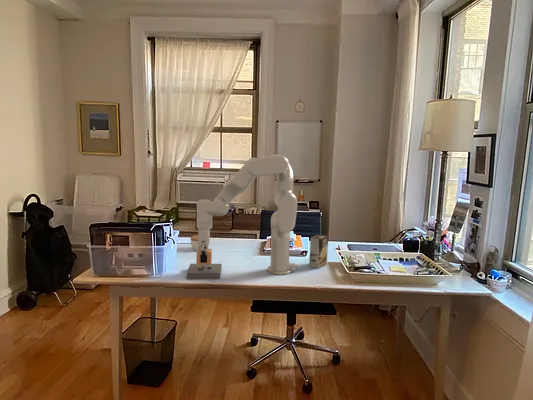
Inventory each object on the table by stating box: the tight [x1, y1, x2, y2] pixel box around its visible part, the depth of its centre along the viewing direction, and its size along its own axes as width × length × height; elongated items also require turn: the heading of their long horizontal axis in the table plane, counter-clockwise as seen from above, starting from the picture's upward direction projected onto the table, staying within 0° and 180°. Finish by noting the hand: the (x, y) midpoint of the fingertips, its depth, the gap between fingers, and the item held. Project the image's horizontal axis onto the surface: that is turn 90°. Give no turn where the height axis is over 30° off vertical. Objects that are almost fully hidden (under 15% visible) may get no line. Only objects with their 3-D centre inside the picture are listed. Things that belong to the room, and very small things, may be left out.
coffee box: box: [309, 234, 329, 269], centre depth 213 cm, size 9×6×16 cm
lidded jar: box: [190, 234, 201, 252], centre depth 237 cm, size 11×11×9 cm
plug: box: [195, 248, 213, 267], centre depth 195 cm, size 7×6×8 cm
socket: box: [186, 263, 223, 280], centre depth 196 cm, size 16×14×3 cm
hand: (204, 259), depth 195 cm, fingers closed on plug, 6 cm apart
